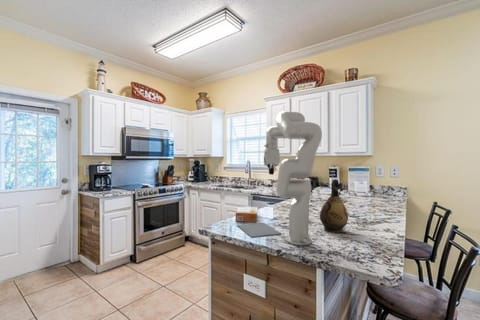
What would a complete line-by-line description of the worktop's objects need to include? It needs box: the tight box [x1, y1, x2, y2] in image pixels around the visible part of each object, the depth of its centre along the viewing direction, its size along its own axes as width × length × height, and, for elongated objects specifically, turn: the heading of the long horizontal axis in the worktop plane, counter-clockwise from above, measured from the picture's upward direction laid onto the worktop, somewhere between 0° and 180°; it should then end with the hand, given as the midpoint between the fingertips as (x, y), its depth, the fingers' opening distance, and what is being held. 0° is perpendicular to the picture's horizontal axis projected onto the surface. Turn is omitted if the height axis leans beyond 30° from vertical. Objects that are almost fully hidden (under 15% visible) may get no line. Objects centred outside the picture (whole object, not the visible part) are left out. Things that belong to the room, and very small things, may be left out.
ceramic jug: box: [319, 178, 349, 233], centre depth 140 cm, size 17×15×30 cm
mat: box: [237, 222, 282, 239], centre depth 137 cm, size 22×18×1 cm
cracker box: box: [235, 205, 259, 223], centre depth 164 cm, size 14×6×21 cm
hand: (271, 174), depth 157 cm, fingers closed
